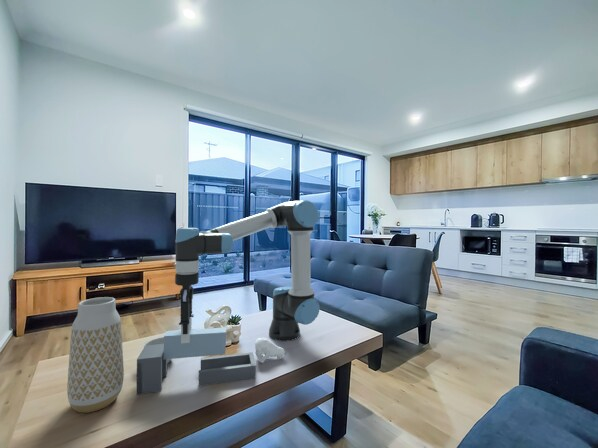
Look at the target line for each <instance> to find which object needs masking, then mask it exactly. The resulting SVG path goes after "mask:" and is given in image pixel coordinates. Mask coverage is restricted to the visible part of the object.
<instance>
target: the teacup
mask: <svg viewBox="0 0 598 448" xmlns="http://www.w3.org/2000/svg"><path fill="white" fill-rule="evenodd" d="M155 344H164V336H162V337H157V338H155V339H152V340H151V339H150V340H149V341H147V342H146V343H144V345H143V348H144V347H145V345H155ZM171 360H172V359H167V364H168V363H170V362H171Z"/></svg>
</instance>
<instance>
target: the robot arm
mask: <svg viewBox="0 0 598 448" xmlns="http://www.w3.org/2000/svg"><path fill="white" fill-rule="evenodd" d="M319 215H320V214H319V211H318V208H317V206H316V205H315V204H314V203H313V202H312V201H310V200H304V199H299V200H293V201H292V200H291V201H285V202H282V203H279V204H276V205H275V206H272V207H269V208H266V209H265V211H264V212H261V213H257V214H254V215H251V216H248V217H245V218H241V219H239V220H236V221H233V222H232V221H231V222H229V223H227V224H224V225H221V226H217V227H214V228H210V229H209V230H202V231H200V229H199V228H198V227H179V228H177V229H176V231H175V241H174V242H175V262H174V263H173V266H174V267H175V275H174V277H175V278H174V283H175V285H176V286H179V287H182V288H181V289H180V290H179V296H180V297H179V299H180V322H178V325H179V326H180V330H181V343H190V330H191V329H192V318H194V316H195V314H193V298H194V295H193V294H194V287H193V286H195V285H197V284H199V275H200V274H199V270H200V255H213V254H214V255H216V254H219V255H220V254H221V255H223V254H228V253H231V252H232V251H233V249H234V241H236V240H239V239H242V238H244V237H247V236H250V235H252V234H256V233H258V232H259V233H260V232H261V231H264V230H267V229H269V228H271V229H275V228H276V229H277V228H278V227H279V228H280V227H287V228H286V230H287V232H288V234H290V249H291V250H290V253H291V254H290V256H291V257H290V262H291V263H290V266H291V269H290V270H291V271H290V272H291V273H290V274H291V275H290V276H291V286H280V287H276V288H274V290H273V292H272V320H271V323H270V326H269V329H268V336H269V338H271V339H272V340H275V341H280V342H281V341H282V342H283V341H284V342H286V341H287V340H289V341H293V340H292V339H294V340H296V339H298V338H299V337H300V336H301V329H300V326H299V324H301V325H303V326H305V325H309V324H312V323H313V322H314V321H315V320H316V319H317V318H318V316H319V314H320V303H319V302H318V300H317V299H315V291H314V289H312V288H311V287H312V284H311V283H312V282H311V281H312V280H311V275H312V274H311V273H312V271H311V270H312V269H311V234H312V233H313V232H314V226H316V224H317V223H318V221H319V217H320V216H319ZM299 335H300V336H299ZM298 336H299V337H298ZM297 337H298V338H297ZM295 338H296V339H295Z"/></svg>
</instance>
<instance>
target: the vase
mask: <svg viewBox="0 0 598 448" xmlns="http://www.w3.org/2000/svg"><path fill="white" fill-rule="evenodd" d="M116 307H117V306H116V298H114V297H113V296H112V297H111V296H110V297H109V296H104V297H103V296H102V297H101V296H100V297H94V298H89V299H84V300H81V301H80V302H78V305H77V315H76V317H75V319H74V321H73V322H72V324H71V333H70V340H69V341H70V342H69V343H70V344H69V356H68V357H69V359H68V370H67V371H68V372H67V383H66V385H67V386H66V387H67V390H66V392H67V394H66V395H67V400H68V403H69V405H70V407H71V408H72V409H73V410H74V411H76V412H77V413H84V414H85V413H93V412H96V411H99V410H102V409H104V408H106V407H107V406H109V405H111V404H112V403H113V402H114V401H115V400H116V399H117V397H118V396H119V395H120V393H121V391H122V389H123V385H124V378H125V377H124V376H125V373H124V371H125V368H124V366H125V365H124V350H123V348H124V347H123V333H122V332H123V331H122V329H123V328H122V318H121V316H120V314H119V312H118V310H117V309H116Z"/></svg>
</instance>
